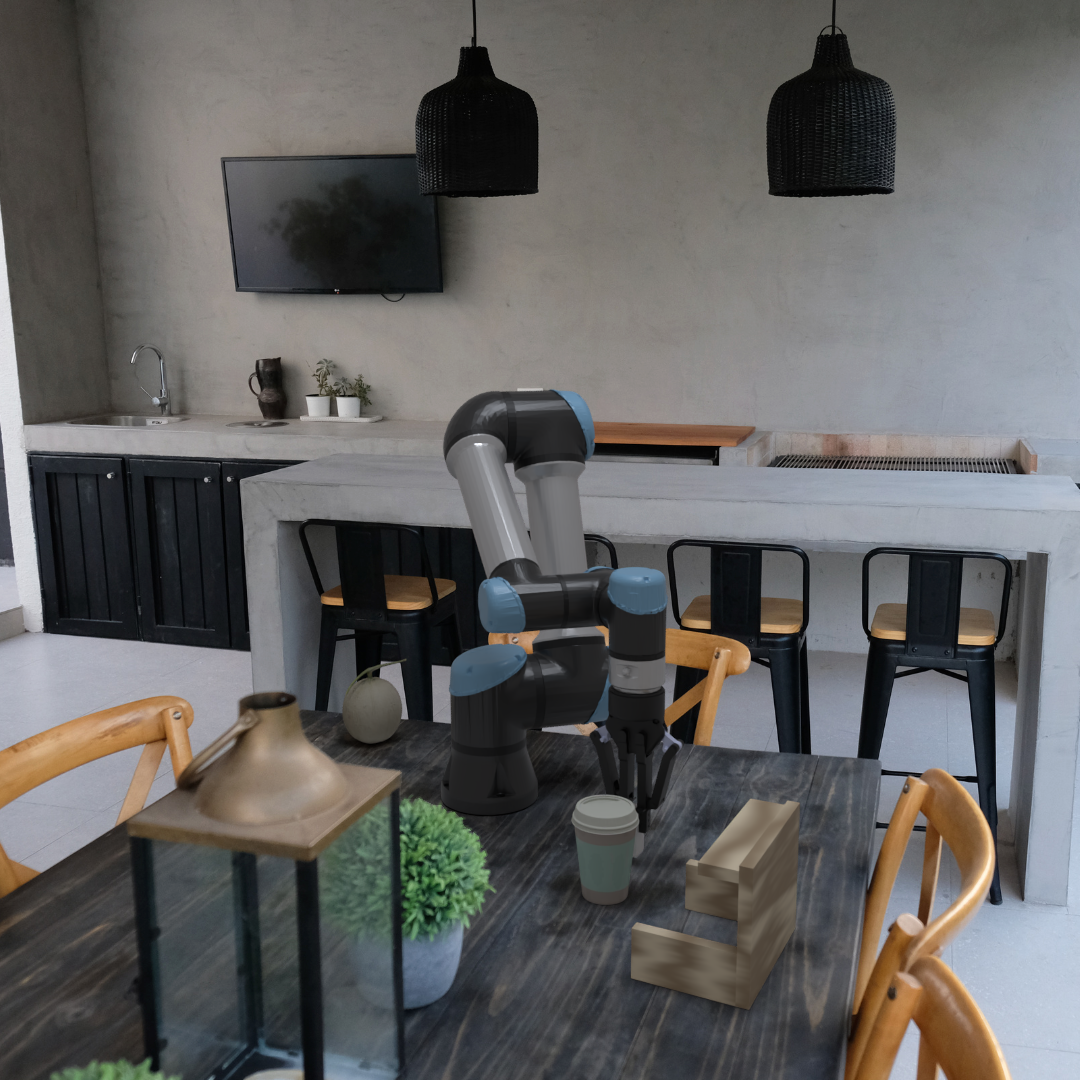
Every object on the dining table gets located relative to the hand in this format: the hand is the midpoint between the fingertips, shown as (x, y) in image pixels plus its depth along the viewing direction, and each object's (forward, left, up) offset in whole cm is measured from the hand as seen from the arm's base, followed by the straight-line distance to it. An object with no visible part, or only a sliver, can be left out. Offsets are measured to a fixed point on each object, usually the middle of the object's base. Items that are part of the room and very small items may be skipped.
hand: (635, 852), depth 153 cm
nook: (+18, -17, -1) cm, 25 cm away
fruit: (-60, +23, -2) cm, 64 cm away
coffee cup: (0, -10, -2) cm, 10 cm away
